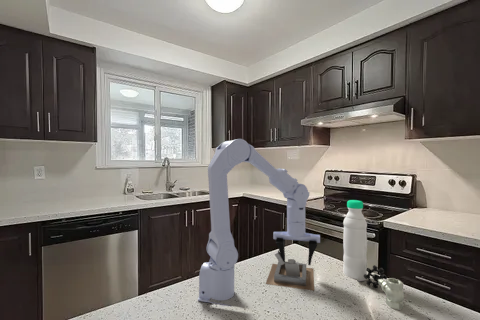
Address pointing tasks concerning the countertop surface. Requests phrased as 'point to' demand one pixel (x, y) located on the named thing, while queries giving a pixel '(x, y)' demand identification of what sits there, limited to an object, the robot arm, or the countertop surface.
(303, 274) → the steel collar
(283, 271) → the walnut board
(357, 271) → the water bottle
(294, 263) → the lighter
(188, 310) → the countertop surface
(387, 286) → the valve
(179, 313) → the countertop surface
